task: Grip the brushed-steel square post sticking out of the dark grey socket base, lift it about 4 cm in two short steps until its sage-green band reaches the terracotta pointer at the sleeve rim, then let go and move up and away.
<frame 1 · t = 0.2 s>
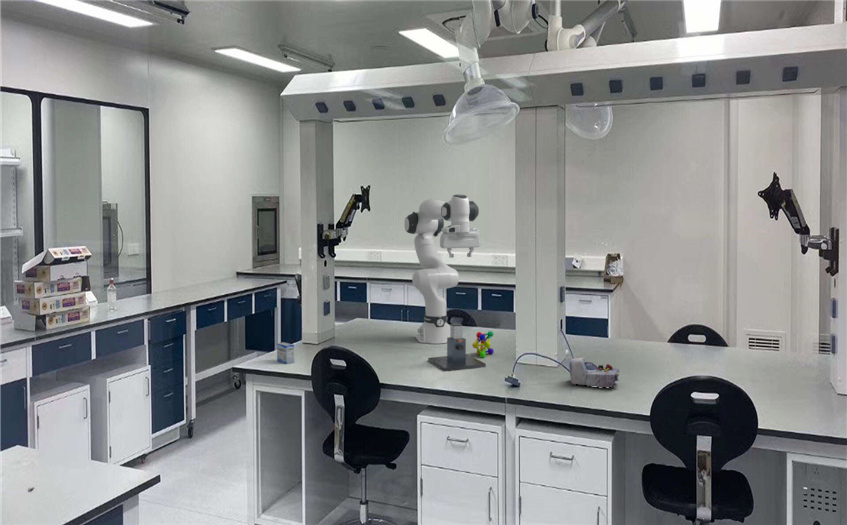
hand: (460, 257, 319), 48 cm above the lab bench, tool pointing down, fingers open, 8 cm apart
molecular model: (483, 355, 321), on the lab bench
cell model: (593, 385, 270), on the lab bench
dark grey socket base: (456, 363, 305), on the lab bench
medicine box: (285, 362, 310), on the lab bench
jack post: (456, 341, 304), point 10 cm above the lab bench, slide at 0.0 cm
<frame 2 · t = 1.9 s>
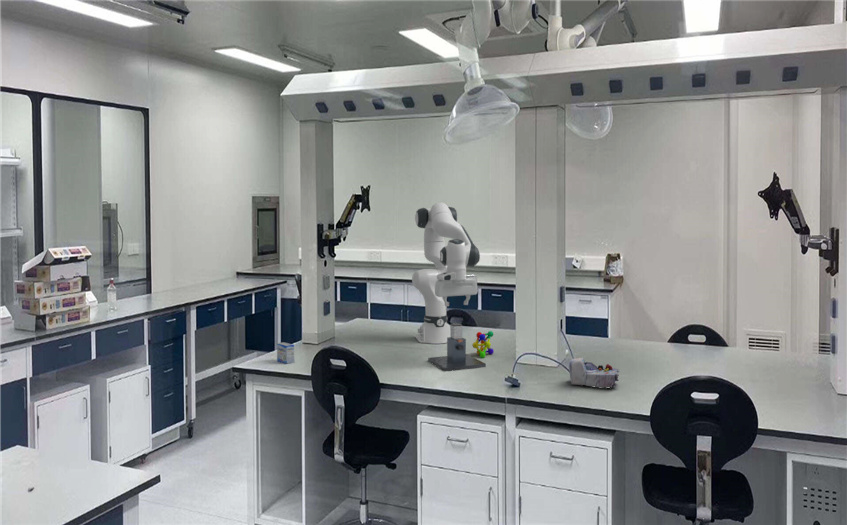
hand: (456, 305, 302), 27 cm above the lab bench, tool pointing down, fingers open, 8 cm apart
nothing on the lab bench moved.
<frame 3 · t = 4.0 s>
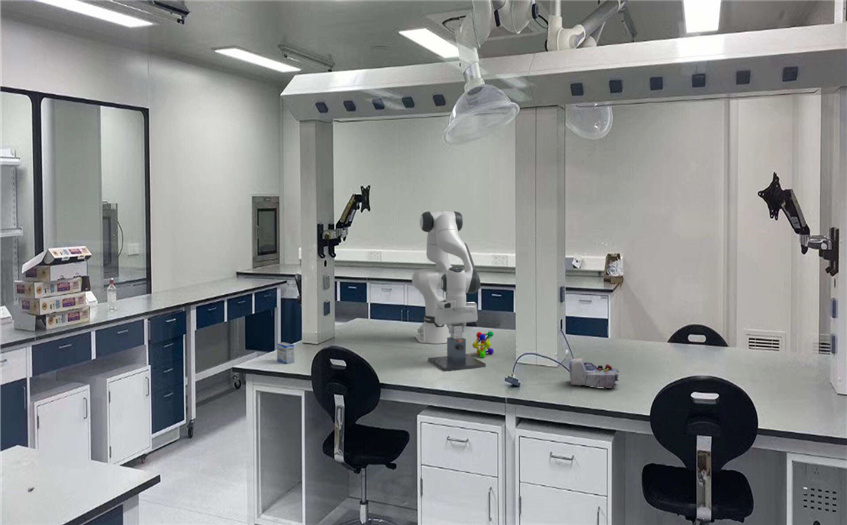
hand: (456, 332, 303), 15 cm above the lab bench, tool pointing down, fingers closed on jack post, 4 cm apart
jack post: (456, 341, 304), point 10 cm above the lab bench, slide at 0.0 cm, touching gripper
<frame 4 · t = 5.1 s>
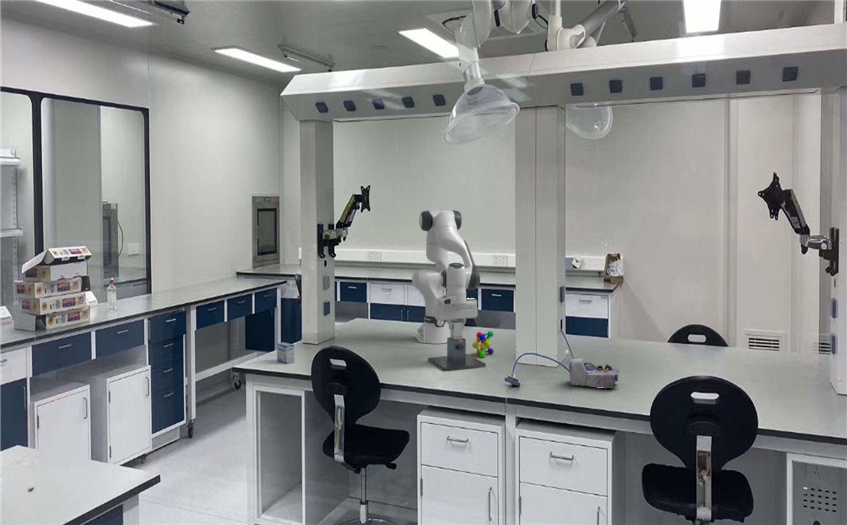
hand: (456, 328, 303), 16 cm above the lab bench, tool pointing down, fingers closed on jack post, 4 cm apart
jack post: (456, 338, 303), point 12 cm above the lab bench, slide at 1.7 cm, touching gripper
everything else where it was.
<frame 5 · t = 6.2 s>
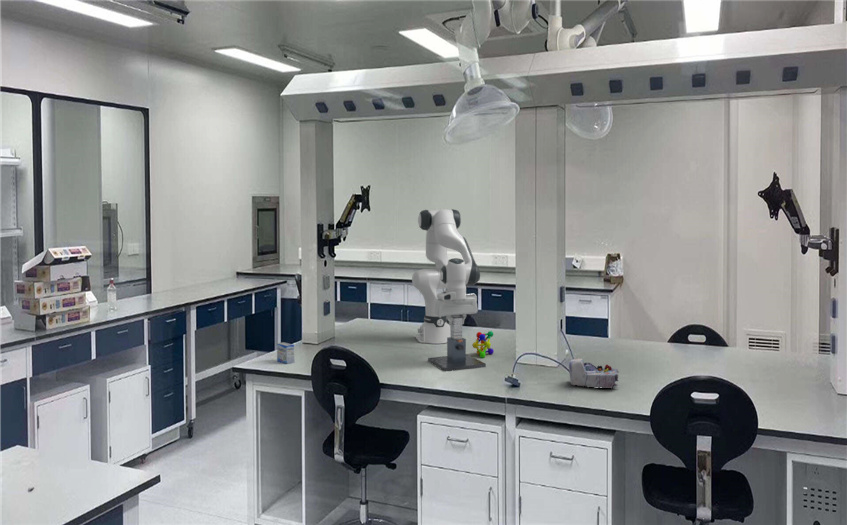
hand: (456, 324, 303), 18 cm above the lab bench, tool pointing down, fingers closed on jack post, 4 cm apart
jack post: (456, 334, 303), point 14 cm above the lab bench, slide at 3.7 cm, touching gripper
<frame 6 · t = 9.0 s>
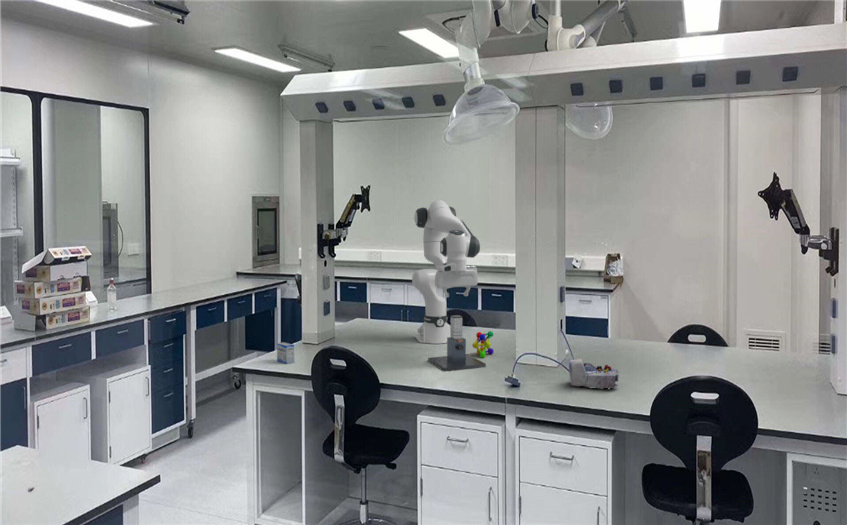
hand: (456, 296, 301), 31 cm above the lab bench, tool pointing down, fingers open, 8 cm apart
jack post: (456, 333, 303), point 14 cm above the lab bench, slide at 3.7 cm
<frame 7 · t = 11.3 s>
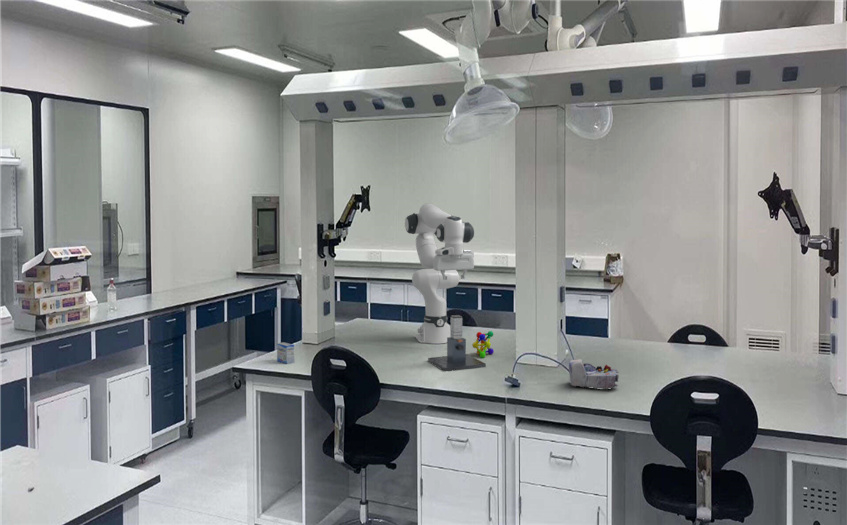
hand: (453, 279, 318), 37 cm above the lab bench, tool pointing down, fingers open, 8 cm apart
at the end: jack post slide at 3.7 cm; the gripper is holding nothing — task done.
